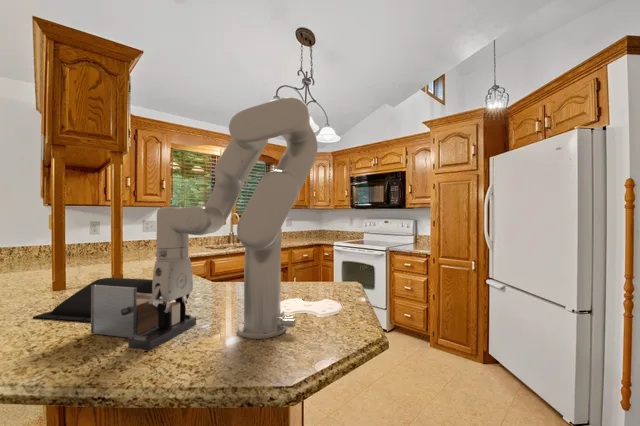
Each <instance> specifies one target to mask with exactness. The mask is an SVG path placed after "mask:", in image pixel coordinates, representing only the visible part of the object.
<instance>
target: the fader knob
mask: <svg viewBox="0 0 640 426" xmlns="http://www.w3.org/2000/svg"><path fill="white" fill-rule="evenodd" d="M168 312H171V326H172V325H174V324H176V323H178V322H180V303H179V302H176V301H173V302H170V307H169V311H168Z"/></svg>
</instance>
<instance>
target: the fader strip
mask: <svg viewBox="0 0 640 426" xmlns="http://www.w3.org/2000/svg"><path fill="white" fill-rule="evenodd" d="M194 325H195V326H196V325H197V317H194V316H192V314H190V313H189V314H188V313H186V319H185V320H180V322H178V323H176V324H174V325H172V326H170V327H169V328H161V327H158V325H157V326H155V327H153V328H150V329H148V330H146V331H144V332H142V333H140V334H138V335H136V336H133V337H131V338H129V337H128V341H127V343H128V348H129V349H137V350H144V351H152V350H153V349H154V350H155V348H157V347H159V346H160V345H162V344H164V343H167V342H168V341H170V340H171V339H173V338H175V337H176V336H178V334H179V335H180V334H182V333H184V332H186V331H187V330H189V329H191V328H193V327H195V326H194ZM192 326H193V327H192ZM190 327H191V328H190ZM188 328H189V329H188ZM185 330H186V331H185ZM183 331H184V332H183Z"/></svg>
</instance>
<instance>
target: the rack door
mask: <svg viewBox="0 0 640 426" xmlns="http://www.w3.org/2000/svg"><path fill="white" fill-rule="evenodd" d="M136 315H137V288H133V287H119V286H104V285H91V323H90V334H97V335H104V336H105V335H106V336H112V337H113V336H114V337H123V338H128V339H129V338H131V337H133V336H136Z"/></svg>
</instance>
